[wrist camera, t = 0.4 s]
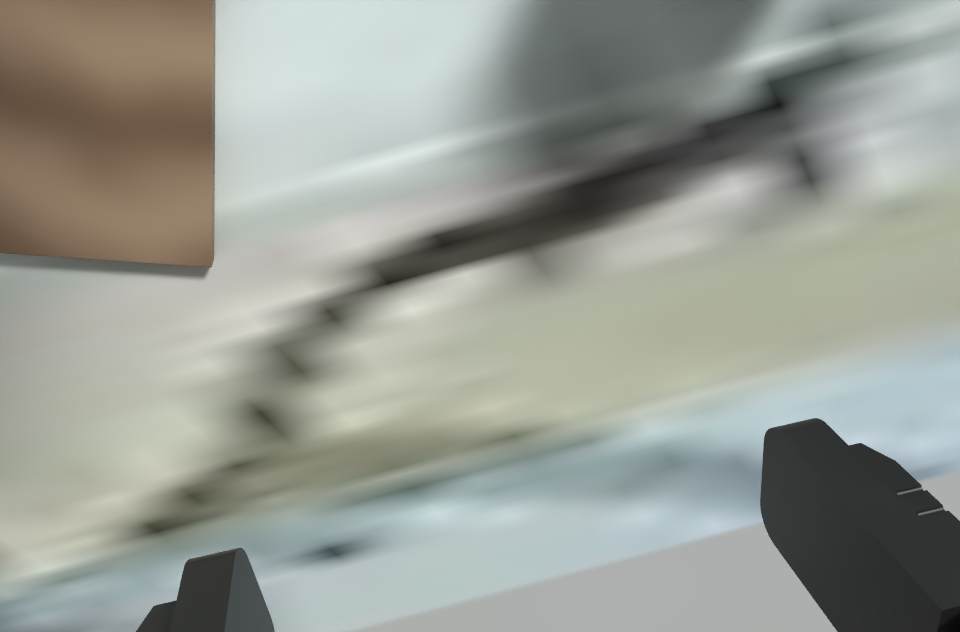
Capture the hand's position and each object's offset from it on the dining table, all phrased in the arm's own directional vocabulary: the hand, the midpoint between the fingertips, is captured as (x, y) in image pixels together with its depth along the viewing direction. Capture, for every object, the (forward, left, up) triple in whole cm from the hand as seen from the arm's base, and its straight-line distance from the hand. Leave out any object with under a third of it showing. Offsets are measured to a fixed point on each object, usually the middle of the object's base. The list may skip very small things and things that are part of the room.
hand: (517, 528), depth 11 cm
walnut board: (-1, -13, -26) cm, 29 cm away
